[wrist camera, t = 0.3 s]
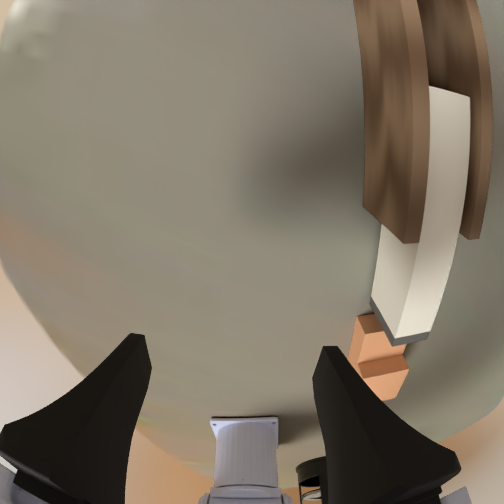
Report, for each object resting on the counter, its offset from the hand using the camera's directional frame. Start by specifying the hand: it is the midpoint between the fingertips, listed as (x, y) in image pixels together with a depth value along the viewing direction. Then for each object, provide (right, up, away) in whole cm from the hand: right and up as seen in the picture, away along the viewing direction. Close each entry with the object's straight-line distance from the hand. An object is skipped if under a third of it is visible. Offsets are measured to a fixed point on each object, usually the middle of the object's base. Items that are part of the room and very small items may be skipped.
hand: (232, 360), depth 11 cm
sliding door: (+11, +7, +7) cm, 15 cm away
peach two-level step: (+12, -4, +13) cm, 19 cm away
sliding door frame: (+10, +16, +3) cm, 20 cm away
